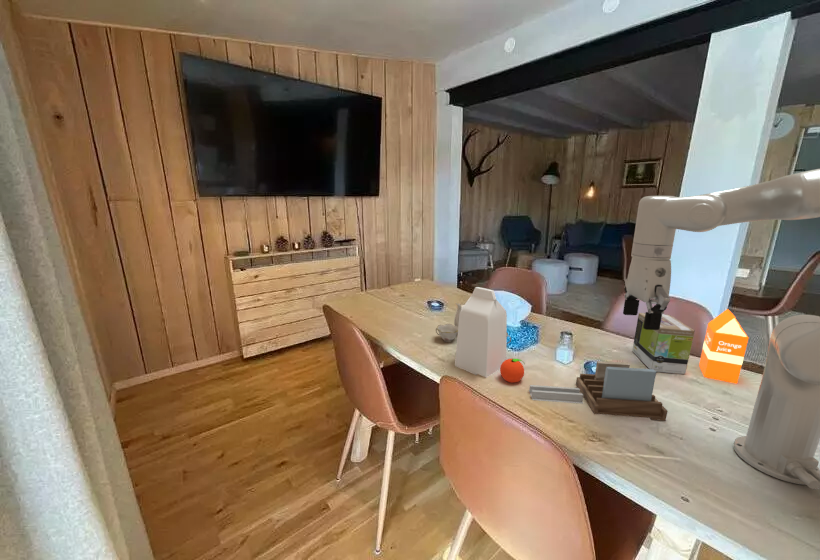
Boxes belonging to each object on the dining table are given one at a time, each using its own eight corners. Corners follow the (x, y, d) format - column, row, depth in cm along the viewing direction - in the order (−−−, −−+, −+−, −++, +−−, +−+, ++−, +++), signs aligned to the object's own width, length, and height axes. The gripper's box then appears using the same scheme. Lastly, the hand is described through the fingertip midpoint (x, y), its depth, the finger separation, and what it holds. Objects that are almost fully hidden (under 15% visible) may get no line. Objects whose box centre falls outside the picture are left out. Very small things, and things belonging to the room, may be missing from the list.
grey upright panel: (649, 411, 87) (656, 372, 85) (602, 408, 89) (608, 369, 86) (646, 408, 89) (653, 369, 86) (600, 404, 90) (606, 366, 87)
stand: (583, 405, 91) (584, 396, 91) (532, 401, 93) (532, 393, 92) (576, 394, 96) (578, 386, 95) (528, 391, 98) (529, 383, 97)
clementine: (516, 372, 108) (518, 351, 106) (531, 383, 102) (533, 361, 100) (494, 377, 105) (496, 356, 104) (508, 389, 99) (510, 366, 97)
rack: (665, 420, 85) (671, 388, 83) (593, 415, 87) (598, 384, 85) (637, 389, 98) (642, 361, 96) (575, 385, 101) (579, 358, 98)
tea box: (687, 375, 106) (696, 330, 103) (650, 372, 108) (658, 327, 105) (662, 353, 121) (670, 313, 117) (631, 351, 123) (637, 311, 119)
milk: (454, 365, 113) (457, 288, 106) (475, 354, 120) (478, 282, 114) (486, 379, 104) (490, 296, 98) (506, 366, 112) (511, 289, 106)
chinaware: (433, 349, 128) (432, 308, 123) (438, 328, 144) (438, 291, 138) (511, 355, 123) (514, 313, 118) (507, 333, 139) (510, 294, 133)
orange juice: (729, 371, 109) (744, 310, 104) (737, 384, 101) (754, 319, 96) (698, 365, 112) (710, 306, 108) (703, 377, 105) (717, 314, 100)
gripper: (694, 258, 70) (679, 336, 75) (648, 245, 87) (638, 310, 91) (654, 257, 71) (642, 335, 75) (616, 245, 88) (607, 309, 92)
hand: (639, 321), depth 83 cm, fingers open, 9 cm apart
